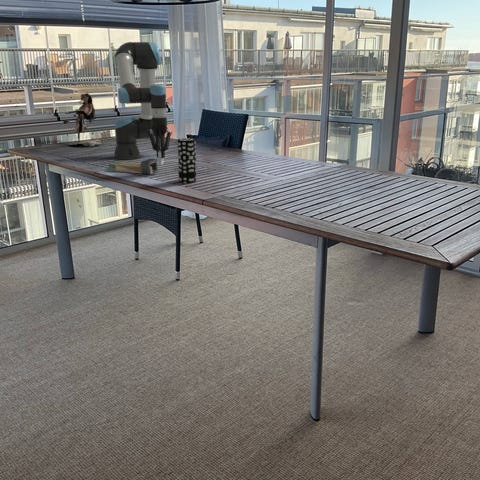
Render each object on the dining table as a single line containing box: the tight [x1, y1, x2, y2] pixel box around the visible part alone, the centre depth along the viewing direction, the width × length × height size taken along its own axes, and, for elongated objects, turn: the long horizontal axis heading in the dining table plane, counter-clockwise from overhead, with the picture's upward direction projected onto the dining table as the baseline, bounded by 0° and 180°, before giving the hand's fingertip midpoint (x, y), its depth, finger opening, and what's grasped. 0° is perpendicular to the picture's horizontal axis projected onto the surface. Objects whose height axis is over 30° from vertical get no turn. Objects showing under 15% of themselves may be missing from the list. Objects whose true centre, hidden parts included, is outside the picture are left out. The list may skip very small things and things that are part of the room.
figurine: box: [62, 92, 104, 148], centre depth 348 cm, size 25×24×35 cm
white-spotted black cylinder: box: [177, 137, 197, 184], centre depth 244 cm, size 8×8×20 cm
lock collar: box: [140, 158, 158, 175], centre depth 266 cm, size 10×4×6 cm, turn 161°
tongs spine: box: [108, 162, 153, 175], centre depth 268 cm, size 5×24×4 cm, turn 71°
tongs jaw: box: [112, 161, 141, 166], centre depth 271 cm, size 4×20×4 cm, turn 69°
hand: (161, 164), depth 263 cm, fingers closed
